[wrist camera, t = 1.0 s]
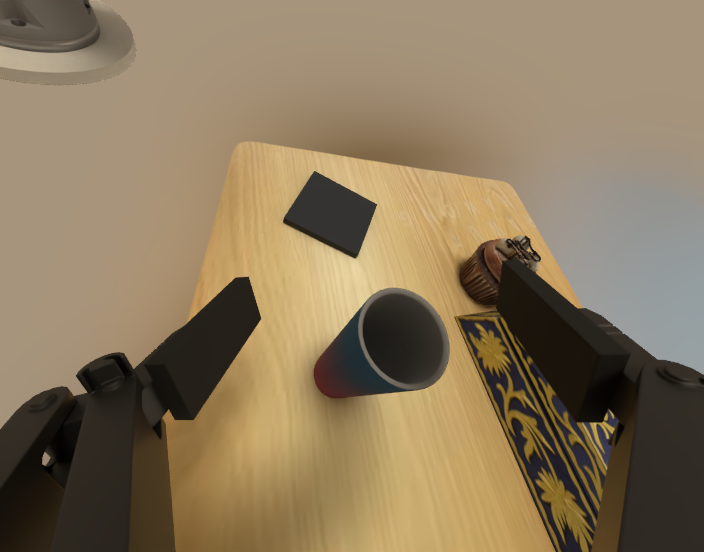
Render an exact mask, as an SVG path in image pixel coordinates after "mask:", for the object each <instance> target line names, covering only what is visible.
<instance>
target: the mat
mask: <svg viewBox="0 0 704 552" xmlns="http://www.w3.org/2000/svg"><path fill="white" fill-rule="evenodd" d="M376 206H377V204H375V203H373V202H372V201H370V200H368V199H366V198H364V197H362V196H360V195H358V194H357V193H355V192H353V191H351V190H349V189H347V188H345V187H344V186H342V185H340V184H338V183H336V182H334V181H332V180H331V179H329V178H327V177H325V176H323V175H321V174H319V173H317V172H316V171H314V172H313V174H312V175H311V177H310V178H309V180H308V182H307V183H306V185H305V186H304V188H303V189H302V191H301V192H300V194H299V196H298V197H297V199H296V200H295V202H294V203H293V205H292V206H291V208H290V209H289V211H288V213H287V214H286V216H285V217H284V220H283V222H284V223H286V224H288V225H290V226H292V227H294V228H296V229H298V230H300V231H302V232H304V233H306V234H308V235H310V236H312V237H314V238H316V239H318V240H320V241H322V242H324V243H326V244H328V245H330V246H332V247H334V248H336V249H338V250H340V251H342V252H344V253H346V254H348V255H350V256H352V257H354V258H356V257H357V256H358V254H359V251H360V248H361V246H362V243H363V241H364V238H365V235H366V233H367V230H368V227H369V225H370V222H371V219H372V217H373V214H374V211H375V209H376Z"/></svg>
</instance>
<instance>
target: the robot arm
mask: <svg viewBox="0 0 704 552" xmlns="http://www.w3.org/2000/svg"><path fill="white" fill-rule="evenodd" d="M88 1H89V0H0V45H1V46H4V47H9V48H13V49H18V50H24V51H32V52H45V53H59V52H69V51H75V50H79V49H83V48H86V47H88V46H90V45H92V44H93V43H94V42H96V41H97V39H98V38H99V36H100V27H99V24H98V21H97V18H96V15H95V13H94V11H93V9H92V7H91V5H90V3H89V2H88ZM496 309H497V310H498V312H499V313H500V315H501V316H502V318H503V319H504V320H505V322H506V323H507V325H508V326H509V328H510V329H511V331H512V332H513V333H514V335H515V336H516V338H517V339H518V341H519V342H520V343H521V345H522V346H523V348H524V349H525V351H526V352H527V353H528V355H529V356H530V358H531V359H532V361H533V362H534V363H535V365H536V366H537V368H538V369H539V371H540V372H541V373H542V375H543V376H544V378H545V379H546V381H547V382H548V383H549V385H550V386H551V388H552V389H553V391H554V392H555V394H556V395H557V396H558V398H559V399H560V401H561V402H562V404H563V405H564V406H565V408H566V409H567V411H568V412H569V414H570V415H571V416H572V418H573V419H574V421H575V422H576V423H603V421H604V418H605V416H606V414H607V411H608V409H609V410H610V411H611V412H612V413H613V415H614V416H615V417H616V418H617V419H618V423H617V425H616V427H615V429H614V432H613V434H612V436H611V438H610V441H609V443H608V445H610V446H611V451H610V456H609V462H608V467H607V472H606V477H605V482H604V487H603V492H602V497H601V503H600V508H599V513H598V518H597V523H596V528H595V533H594V538H593V544H592V549H591V552H704V375H703V374H701V373H699V372H698V371H696V370H694V369H692V368H689V367H687V366H684V365H681V364H679V363H675V362H671V361H666V360H657V359H656V358H655V357H653V356H652V355H651V354H650V353H648V352H647V351H646V350H645V349H643V348H642V347H641V346H639V345H638V344H637V343H635V342H634V341H633V340H632V339H630V338H629V337H628V336H627V335H625V334H622V331H620V330H619V329H618V328H616V327H615V326H613V324H611V323H610V322H609V321H608V320H606V319H605V318H604V317H602V316H601V315H599V314H597V313H595V312H593V311H590V310H588V309H586V308H580V309H577V308H576V307H575V306H574V305H573V304H571V303H570V302H569V301H568V300H567V299H566V298H564V297H563V296H562V295H561V294H560V293H558V292H557V291H556V290H555V289H554V288H552V287H551V286H550V285H549V284H548V283H547V282H545V281H544V280H543V279H542V278H541V277H539V276H538V275H537V274H536V273H535V272H534V271H532V270H531V269H530V268H529V267H528V266H526V265H525V264H524V263H523V262H522V261H520V260H503V261H502V268H501V275H500V283H499V291H498V298H497V306H496ZM260 320H261V316H260V313H259V310H258V306H257V303H256V300H255V296H254V293H253V290H252V286H251V283H250V280H249V277H238V278H235V279H234V280H233V281H232V282H230V283H229V284H228V285H227V286H226V287H225V288H224V289H223V290H222V291H221V292H220V293H219V294H218V295H217V296H216V297H215V298H214V299H212V300H211V301H210V302H209V303H208V304H207V305H206V306H205V307H204V308H203V309H202V310H201V311H200V312H199V313H198V314H197V315H196V316H194V317H193V318H192V319H191V320H190V321H189V322H188V323H187V324H186V325H185V326H183V327H182V328H180V329H178V330H177V331H175V332H174V333H172V334H171V335H170V336H169V337H168V338H167V339H166V340H165V341H164V342H163V343H161V345H159V346H158V347H157V349H155V350H154V351H153V352H152V353H151V354H150V355H148V357H146V358H145V359H144V360H143V361H142V362H141V363H140V364H139V365H138V366H137V367H136V368H135V369H133V368H132V366H131V364H130V363H129V361H128V359H127V357H126V356H125V354H124V353H120V352H119V353H111V354H108V355H105V356H102V357H100V358H98V359H95V360H94V361H92V362H90V363H89V364H87V365H86V366H84V367H83V368H82V369H81V370H80V371H79V372H78V373H77V375H76V377H77V378H78V380H79V381H80V382H81V384H82V385H83V387H84V388H85V389H86V391H87V392H88V393H85V394H81V395H77V396H73V394H72V393H71V392H70V390H69V389H68V388H67V387H62V386H61V387H56V388H53V389H50V390H47V391H44V392H41V393H40V394H38V395H35V396H34V397H32V398H31V399H30V400H29V401H27V402H26V403H24V404H23V405H22V406H21V407H20V408H19V409H18V410H17V411H16V412H15V413H14V414H13V415H12V416H11V418H10V419H9V420H8V421H7V422H6V423H5V424H4V426H3V427H2V428H1V429H0V552H176V550H175V537H174V524H173V512H172V499H171V486H170V473H169V461H168V448H167V435H166V424H165V422H164V420H163V418H162V417H163V416H164V414H165V413H166V412H167V411H168V409H169V410H170V412H171V414H172V416H173V417H174V419H175V420H194V419H195V417H196V416H197V414H198V413H199V411H200V410H201V408H202V407H203V405H204V404H205V402H206V401H207V399H208V398H209V396H210V395H211V393H212V392H213V390H214V389H215V387H216V386H217V384H218V383H219V381H220V380H221V378H222V377H223V375H224V374H225V372H226V371H227V369H228V368H229V366H230V365H231V363H232V362H233V360H234V359H235V357H236V356H237V354H238V353H239V351H240V350H241V348H242V347H243V345H244V344H245V342H246V341H247V339H248V338H249V336H250V335H251V333H252V332H253V330H254V329H255V327H256V326H257V324H258V323H259V321H260ZM44 452H46V453H47V454H48V455H49V456H50V457H51V458H50V460H49V462H48V463H47V465H46V466H44V465H42V457H43V454H44Z"/></svg>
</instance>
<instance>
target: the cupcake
mask: <svg viewBox="0 0 704 552" xmlns="http://www.w3.org/2000/svg"><path fill="white" fill-rule="evenodd" d="M529 247H530V249H531V251H532V252H533V253H531V252H528V251H526V250H527V249H528V248H529ZM503 260H520V261H522V262H523V263H524V264H525V265H526V266H528V267H529V268H530V269H531V270H532V271H534V272H535V273H536V271H537V270H538V262H539V261H540V260H541V257H540V256H539V255H538V253H537V252H536V251H534V250H533V249H532V247H531V244H530V238H528V237H527V236H525V237H523V236H521V235H519V236H516V237H514V238H513V240H511V239H507V238H504V239H496V240H490V241H487V242H484V243H482V244H481V245H480V246H479V247H478V248H477V250H476V251H475V253H474V254H473V255H472V257H471V258H470V259H469V260H468V261H467V262H466V263H465V264H464V266H463V267H462V268H461V271H460V279H461V283H462V285H463V287H464V288H465V291H466V292H467V293H468V295H469V296H470V297H472V298H473V299H474V300H475V301H477V302H479V303H481V304H484V305H494V304H497V298H498V291H499V283H500V275H501V268H502V261H503Z"/></svg>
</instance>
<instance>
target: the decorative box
mask: <svg viewBox="0 0 704 552" xmlns="http://www.w3.org/2000/svg"><path fill="white" fill-rule="evenodd" d="M455 319H456V321H457V323H458V326H459V328H460V330H461V332H462V335H463V337H464V339H465V342H466V344H467V346H468V349H469V351H470V353H471V356H472V358H473V360H474V362H475V365H476V367H477V369H478V372H479V374H480V376H481V379H482V381H483V383H484V386H485V388H486V390H487V393H488V395H489V397H490V399H491V402H492V404H493V406H494V409H495V411H496V413H497V416H498V418H499V420H500V423H501V425H502V427H503V429H504V432H505V434H506V436H507V439H508V441H509V443H510V446H511V448H512V450H513V453H514V455H515V457H516V459H517V462H518V464H519V466H520V469H521V471H522V473H523V476H524V478H525V480H526V483H527V485H528V487H529V489H530V492H531V494H532V496H533V499H534V501H535V503H536V506H537V508H538V510H539V513H540V515H541V517H542V519H543V522H544V524H545V526H546V529H547V531H548V533H549V536H550V538H551V540H552V543H553V545H554V547H555V550H556V552H591V549H592V544H593V538H594V533H595V528H596V523H597V518H598V513H599V508H600V503H601V497H602V492H603V487H604V482H605V477H606V472H607V467H608V462H609V456H610V451H611V446H610V445H608V443H609V441H610V438H611V436H612V434H613V432H614V429H615V427H616V425H617V423H618V419H617V418H616V417H615V416H614V415H613V413H612V412H611V411H610V410H609V409H608V411H607V414H606V416H605V418H604V421H603V423H576V422H575V421H574V419H573V418H572V416H571V415H570V414H569V412H568V411H567V409H566V408H565V406H564V405H563V404H562V402H561V401H560V399H559V398H558V396H557V395H556V394H555V392H554V391H553V389H552V388H551V386H550V385H549V383H548V382H547V381H546V379H545V378H544V376H543V375H542V373H541V372H540V371H539V369H538V368H537V366H536V365H535V363H534V362H533V361H532V359H531V358H530V356H529V355H528V353H527V352H526V351H525V349H524V348H523V346H522V345H521V343H520V342H519V341H518V339H517V338H516V336H515V335H514V333H513V332H512V331H511V329H510V328H509V326H508V325H507V323H506V322H505V320H504V319H503V318H502V316H501V315H500V313H499V312H498V310H497V311H491V312H484V313H477V314H470V315H463V316H456V317H455Z"/></svg>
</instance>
